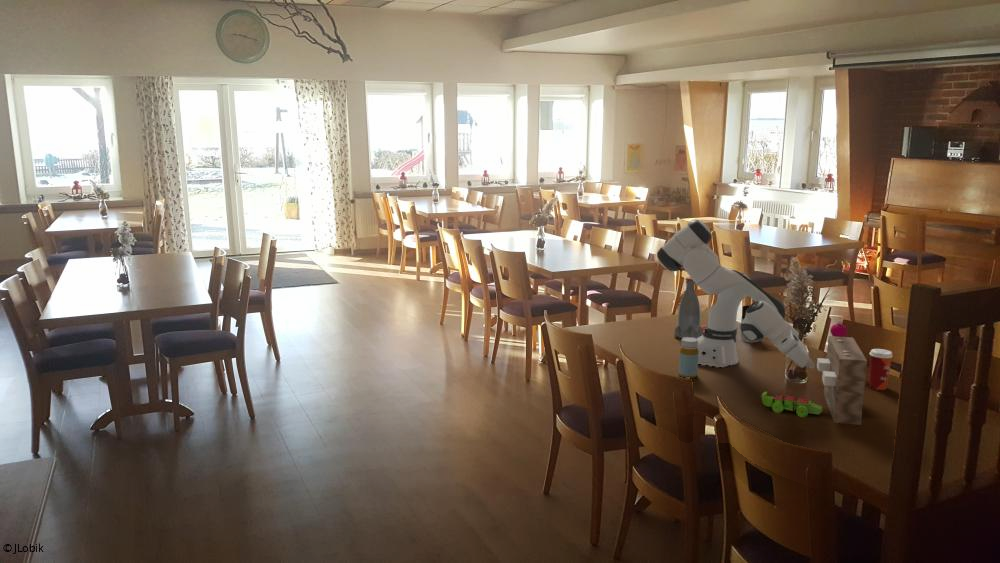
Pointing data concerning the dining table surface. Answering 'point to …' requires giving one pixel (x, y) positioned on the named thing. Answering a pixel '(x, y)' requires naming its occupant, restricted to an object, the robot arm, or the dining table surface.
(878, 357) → the paper cup
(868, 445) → the dining table surface
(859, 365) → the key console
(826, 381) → the off-white rectangular block
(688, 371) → the bottle
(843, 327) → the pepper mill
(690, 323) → the bottle
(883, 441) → the dining table surface
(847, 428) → the dining table surface
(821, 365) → the grey block
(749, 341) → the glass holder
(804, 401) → the toy crocodile
